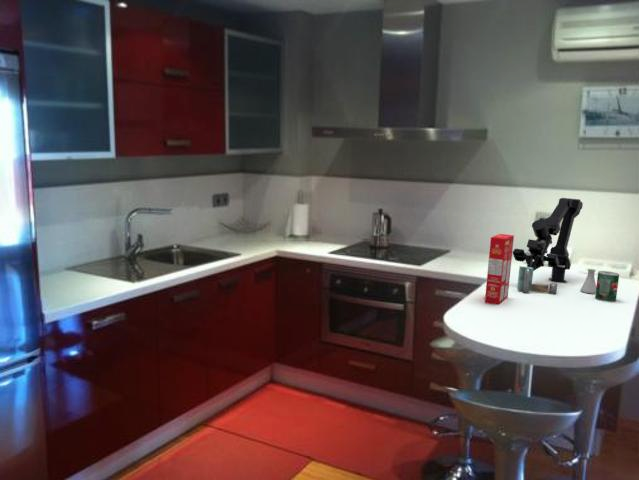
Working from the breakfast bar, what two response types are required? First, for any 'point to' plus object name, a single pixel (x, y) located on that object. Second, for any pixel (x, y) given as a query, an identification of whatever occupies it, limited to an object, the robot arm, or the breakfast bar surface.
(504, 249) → the food packaging
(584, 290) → the flask
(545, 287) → the gate
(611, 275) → the canned tomato
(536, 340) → the breakfast bar surface
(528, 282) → the post
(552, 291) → the hinge post
